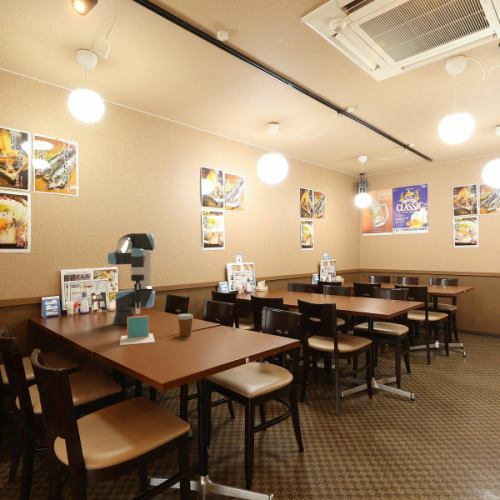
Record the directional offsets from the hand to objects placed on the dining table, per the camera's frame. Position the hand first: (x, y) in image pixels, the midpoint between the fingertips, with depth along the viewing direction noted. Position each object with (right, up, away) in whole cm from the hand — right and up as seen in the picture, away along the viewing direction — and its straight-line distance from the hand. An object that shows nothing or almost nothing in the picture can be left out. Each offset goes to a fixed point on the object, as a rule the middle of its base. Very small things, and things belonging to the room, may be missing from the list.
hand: (137, 313), depth 210 cm
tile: (+3, -12, -8) cm, 15 cm away
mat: (+3, -13, -11) cm, 18 cm away
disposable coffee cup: (+29, -13, 0) cm, 32 cm away
